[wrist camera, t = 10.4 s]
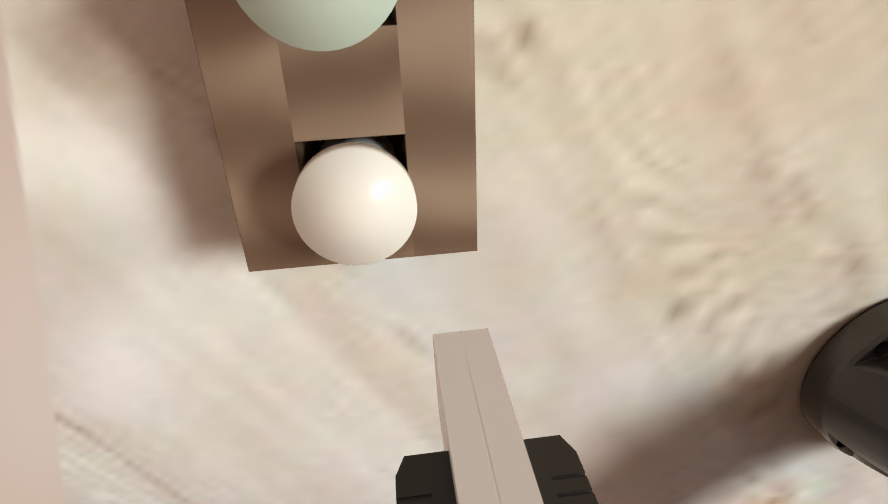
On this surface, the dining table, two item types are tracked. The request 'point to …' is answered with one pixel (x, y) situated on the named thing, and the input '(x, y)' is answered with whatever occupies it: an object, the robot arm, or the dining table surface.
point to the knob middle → (318, 20)
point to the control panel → (343, 118)
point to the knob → (354, 201)
